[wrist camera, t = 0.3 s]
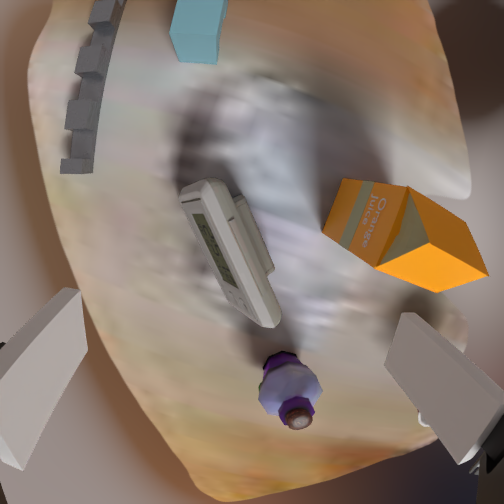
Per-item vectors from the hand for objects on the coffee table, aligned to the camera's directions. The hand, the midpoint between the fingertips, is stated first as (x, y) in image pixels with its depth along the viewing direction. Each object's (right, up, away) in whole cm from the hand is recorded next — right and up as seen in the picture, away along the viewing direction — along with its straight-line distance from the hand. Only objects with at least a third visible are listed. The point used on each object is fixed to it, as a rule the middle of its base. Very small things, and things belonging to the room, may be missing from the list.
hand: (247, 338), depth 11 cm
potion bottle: (+5, -14, +32) cm, 35 cm away
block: (-6, +30, +19) cm, 36 cm away
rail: (-19, +27, +18) cm, 38 cm away
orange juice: (+14, +8, +28) cm, 32 cm away
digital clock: (-3, +5, +27) cm, 27 cm away
